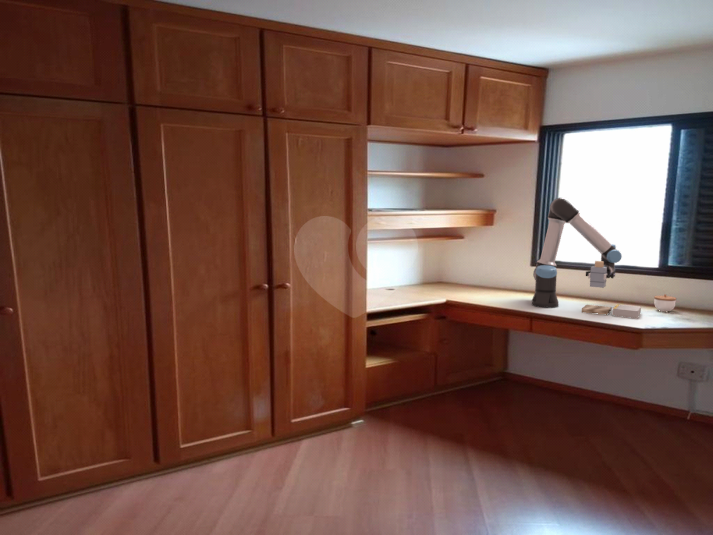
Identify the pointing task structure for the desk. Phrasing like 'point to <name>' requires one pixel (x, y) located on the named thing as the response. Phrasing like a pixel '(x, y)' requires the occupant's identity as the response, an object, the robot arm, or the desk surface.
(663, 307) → the lidded jar
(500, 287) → the desk surface
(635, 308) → the dock
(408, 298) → the desk surface
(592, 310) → the pallet
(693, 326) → the desk surface
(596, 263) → the parcel
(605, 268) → the grey stacked container
